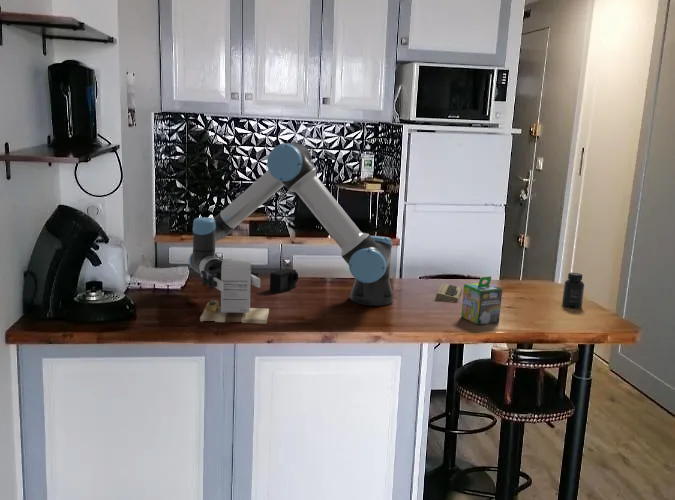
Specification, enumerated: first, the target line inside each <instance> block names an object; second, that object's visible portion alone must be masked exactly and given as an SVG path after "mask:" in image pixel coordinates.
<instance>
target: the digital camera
mask: <svg viewBox="0 0 675 500" xmlns="http://www.w3.org/2000/svg"><path fill="white" fill-rule="evenodd" d="M269 277H270V278H269V292H272V293H275V294H282V293H285V292H287V291H290V290H292V289H295V288H296V283H297V282H298V280H299V273H298V272H297V270H296V269H293V268H283V269H281V270H276V271H273V272H270V274H269Z"/></svg>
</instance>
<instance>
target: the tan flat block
mask: <svg viewBox="0 0 675 500" xmlns="http://www.w3.org/2000/svg"><path fill="white" fill-rule="evenodd" d="M462 289H463V288H462V287H461V286H457V285H452V284H448V283H442V284H441V285H440V286H439V289H438V290H437V293H436V295H435V301H440V300H442V302H449V301H453V302H452V303H458V302H459V299H460V296H461V294H462V291H463V290H462Z"/></svg>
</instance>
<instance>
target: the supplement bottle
mask: <svg viewBox="0 0 675 500" xmlns="http://www.w3.org/2000/svg"><path fill="white" fill-rule="evenodd" d="M584 291H585V283H584V282H583V274H581V273H578V272H569V273H568V274H567V280H565V281H564V284H563V291H562V293H563V294H562V300H561V301H562V303H561V304H562V306H563V307H566V308H569V309H581V308H582V307H583V299H584Z"/></svg>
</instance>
